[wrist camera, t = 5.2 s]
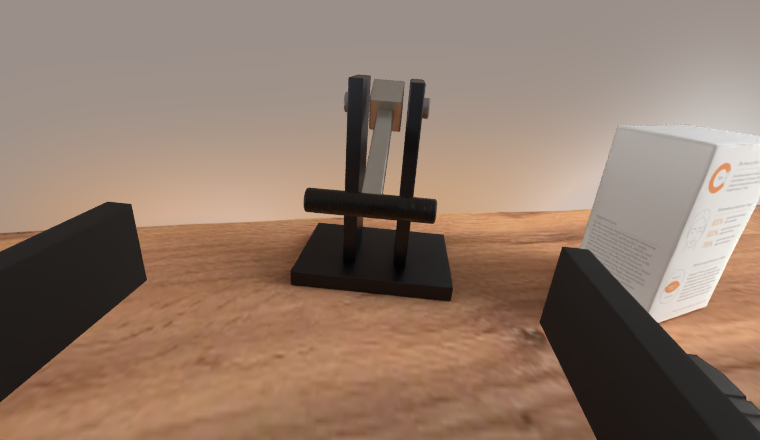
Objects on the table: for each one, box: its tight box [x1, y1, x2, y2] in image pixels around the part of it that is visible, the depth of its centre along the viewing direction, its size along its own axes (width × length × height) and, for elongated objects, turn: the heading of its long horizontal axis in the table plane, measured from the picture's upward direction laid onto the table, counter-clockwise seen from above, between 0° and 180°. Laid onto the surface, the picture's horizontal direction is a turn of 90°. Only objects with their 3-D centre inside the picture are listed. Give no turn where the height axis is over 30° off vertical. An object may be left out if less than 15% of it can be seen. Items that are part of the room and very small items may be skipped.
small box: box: [580, 125, 760, 323], centre depth 27 cm, size 8×6×13 cm
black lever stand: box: [291, 75, 453, 301], centre depth 29 cm, size 9×12×15 cm
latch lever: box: [304, 79, 437, 224], centre depth 24 cm, size 12×7×2 cm, turn 175°
